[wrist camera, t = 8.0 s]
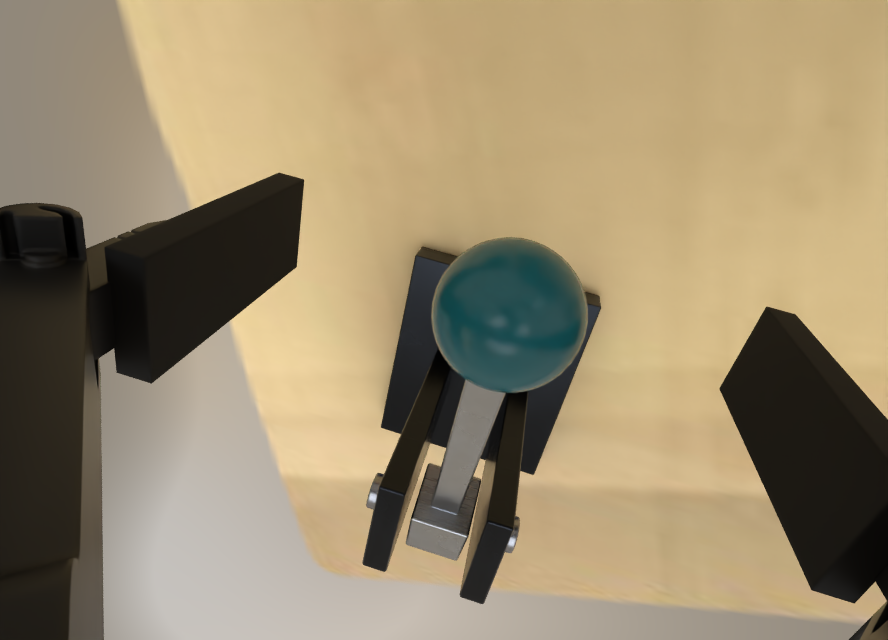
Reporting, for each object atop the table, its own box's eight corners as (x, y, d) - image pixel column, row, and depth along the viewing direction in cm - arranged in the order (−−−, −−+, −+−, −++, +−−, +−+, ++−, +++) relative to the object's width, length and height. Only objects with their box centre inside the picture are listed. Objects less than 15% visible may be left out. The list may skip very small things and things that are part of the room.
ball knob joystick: (464, 188, 12) (420, 293, 10) (615, 230, 12) (606, 346, 10) (410, 473, 24) (383, 554, 21) (488, 498, 24) (470, 582, 21)
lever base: (422, 245, 30) (323, 381, 17) (599, 295, 29) (625, 472, 17) (387, 413, 35) (294, 603, 23) (535, 459, 34) (518, 679, 22)
